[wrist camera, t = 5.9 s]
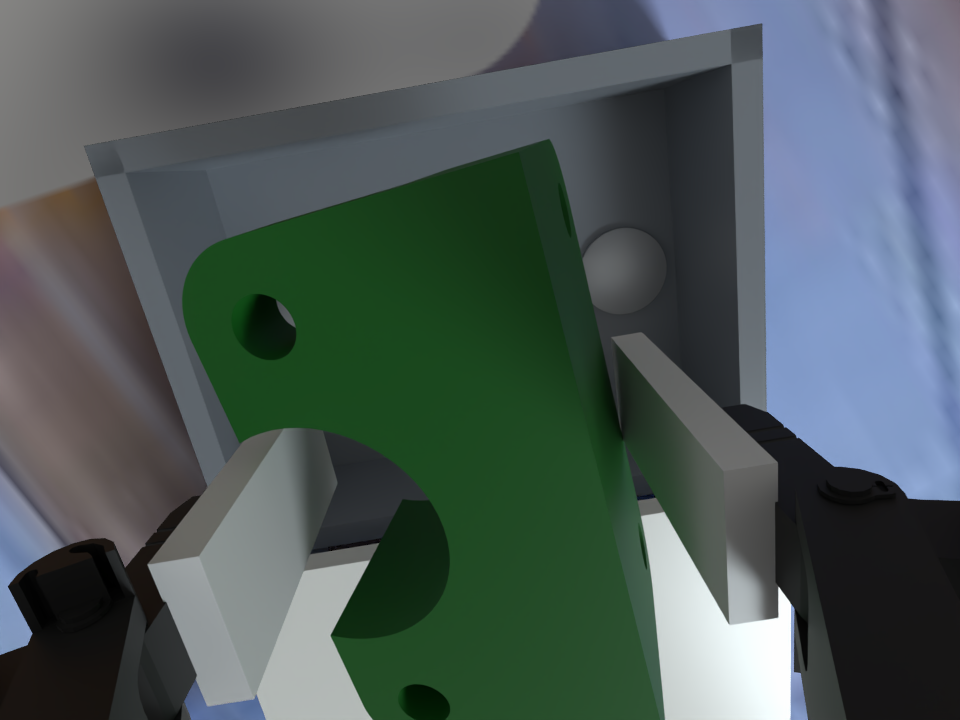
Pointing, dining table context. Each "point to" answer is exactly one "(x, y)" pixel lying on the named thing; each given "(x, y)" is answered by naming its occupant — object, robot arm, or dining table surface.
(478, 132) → the housing
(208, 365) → the clamp
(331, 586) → the lid
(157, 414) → the dining table surface
